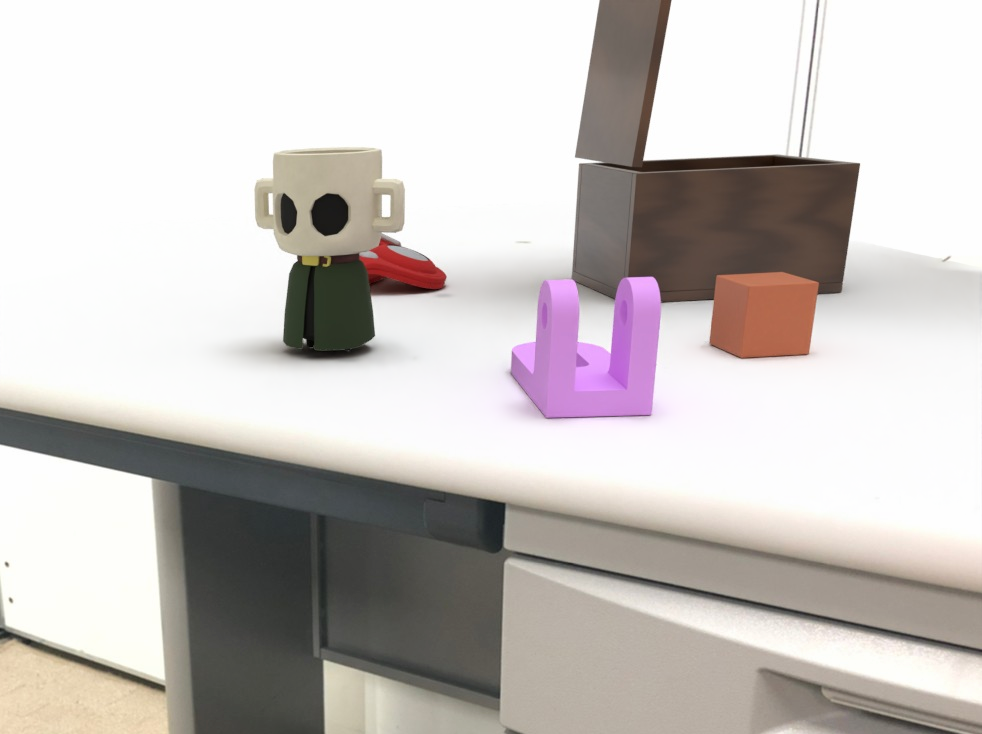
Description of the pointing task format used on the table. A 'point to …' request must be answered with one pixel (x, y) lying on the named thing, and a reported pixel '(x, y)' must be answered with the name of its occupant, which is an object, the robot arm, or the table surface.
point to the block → (763, 314)
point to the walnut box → (713, 222)
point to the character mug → (328, 239)
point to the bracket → (591, 354)
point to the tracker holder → (401, 265)
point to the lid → (622, 80)
